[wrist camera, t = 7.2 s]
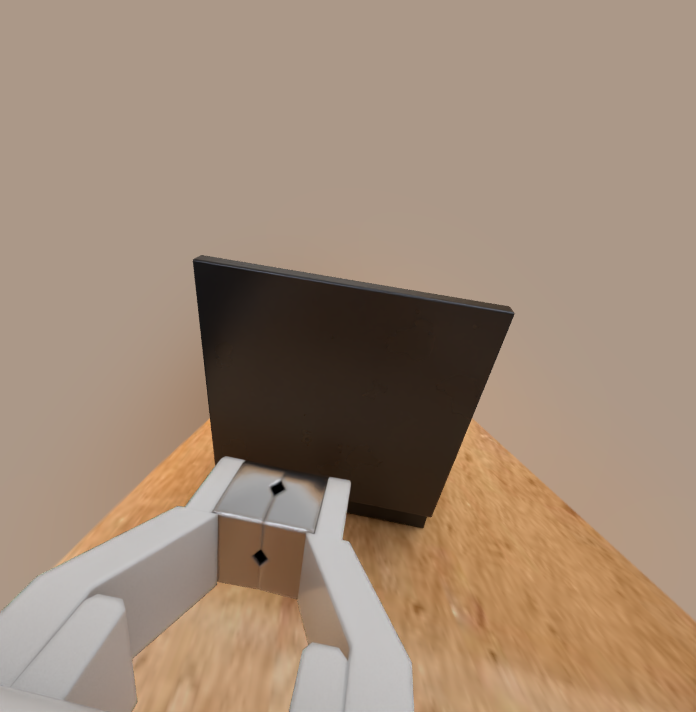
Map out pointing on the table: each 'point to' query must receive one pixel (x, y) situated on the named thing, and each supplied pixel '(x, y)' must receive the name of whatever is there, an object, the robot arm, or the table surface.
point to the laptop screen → (343, 376)
